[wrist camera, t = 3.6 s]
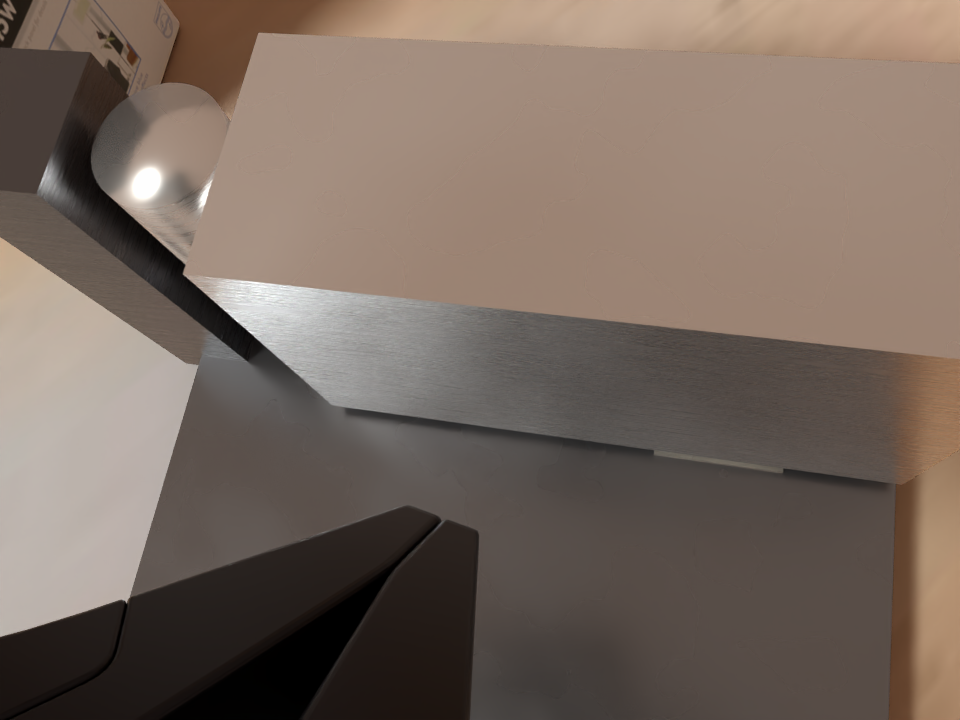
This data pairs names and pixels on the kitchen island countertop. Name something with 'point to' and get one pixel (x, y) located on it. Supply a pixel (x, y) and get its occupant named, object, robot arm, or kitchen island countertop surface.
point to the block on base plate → (476, 488)
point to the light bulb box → (97, 34)
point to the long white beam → (580, 239)
